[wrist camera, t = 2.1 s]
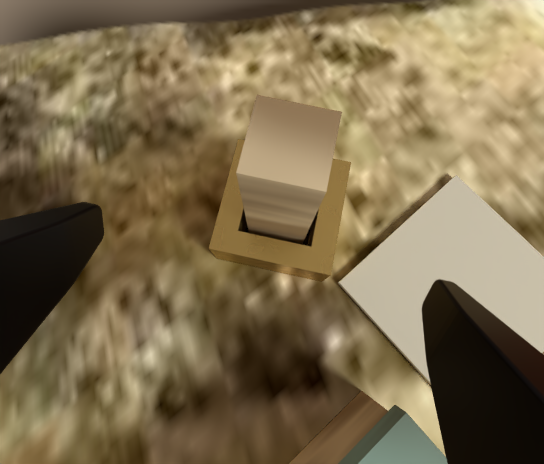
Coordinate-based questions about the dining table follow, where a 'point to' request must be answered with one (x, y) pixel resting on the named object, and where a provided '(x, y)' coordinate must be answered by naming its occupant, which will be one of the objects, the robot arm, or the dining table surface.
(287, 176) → the brown square block
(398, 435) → the drawer
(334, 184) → the frame
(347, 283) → the grey mat
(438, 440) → the dining table surface
